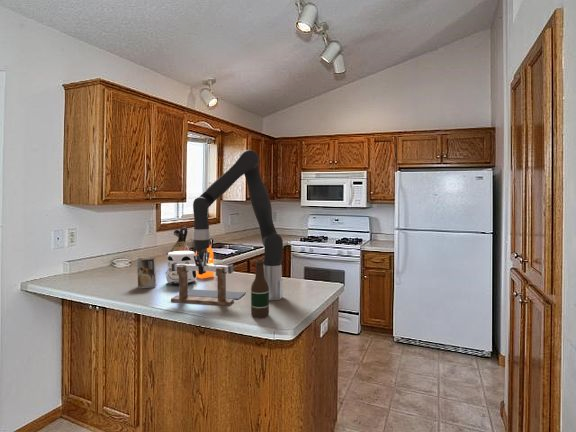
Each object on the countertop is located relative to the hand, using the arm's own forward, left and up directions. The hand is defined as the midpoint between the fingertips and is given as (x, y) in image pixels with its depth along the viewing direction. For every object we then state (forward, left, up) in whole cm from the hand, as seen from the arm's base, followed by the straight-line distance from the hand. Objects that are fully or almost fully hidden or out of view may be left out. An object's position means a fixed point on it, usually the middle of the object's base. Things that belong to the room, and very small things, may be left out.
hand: (202, 273), depth 178 cm
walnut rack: (0, 0, -14) cm, 14 cm away
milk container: (+28, -33, -14) cm, 46 cm away
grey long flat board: (0, -13, -14) cm, 19 cm away
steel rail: (0, 0, +2) cm, 2 cm away
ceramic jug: (+45, -65, -14) cm, 80 cm away
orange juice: (+22, -52, -14) cm, 58 cm away
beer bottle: (-33, +14, -14) cm, 38 cm away
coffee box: (+43, -21, -14) cm, 50 cm away
